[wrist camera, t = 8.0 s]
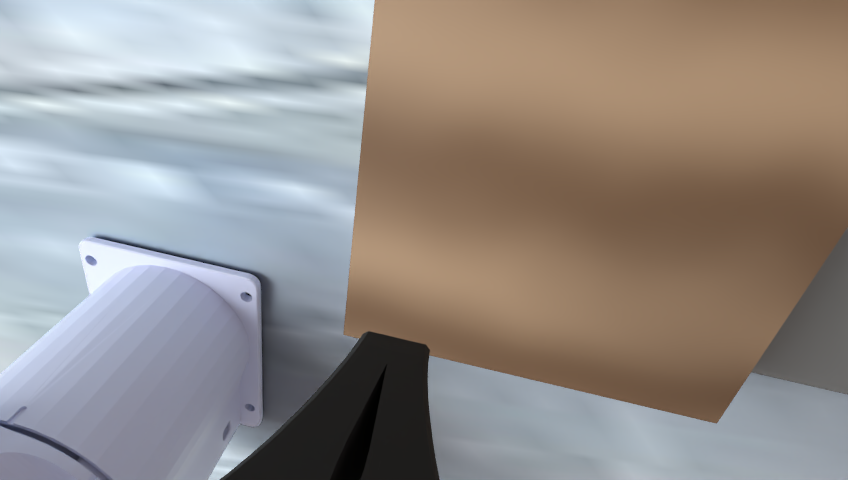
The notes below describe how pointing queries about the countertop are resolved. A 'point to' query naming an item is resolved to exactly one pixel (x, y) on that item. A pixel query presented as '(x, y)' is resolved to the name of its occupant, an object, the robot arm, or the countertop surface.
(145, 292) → the robot arm
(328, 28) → the countertop surface
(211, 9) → the countertop surface
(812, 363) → the mat
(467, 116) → the board
